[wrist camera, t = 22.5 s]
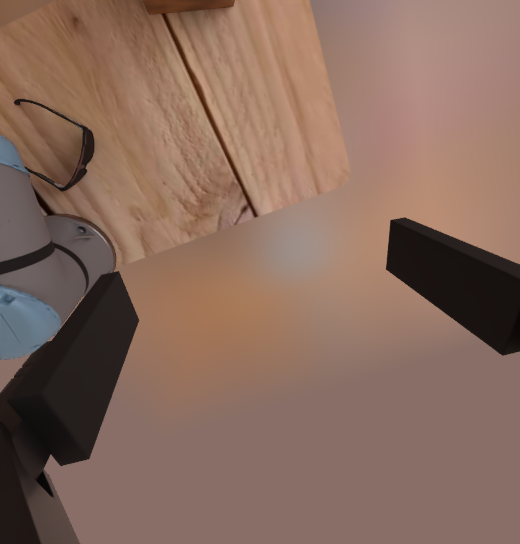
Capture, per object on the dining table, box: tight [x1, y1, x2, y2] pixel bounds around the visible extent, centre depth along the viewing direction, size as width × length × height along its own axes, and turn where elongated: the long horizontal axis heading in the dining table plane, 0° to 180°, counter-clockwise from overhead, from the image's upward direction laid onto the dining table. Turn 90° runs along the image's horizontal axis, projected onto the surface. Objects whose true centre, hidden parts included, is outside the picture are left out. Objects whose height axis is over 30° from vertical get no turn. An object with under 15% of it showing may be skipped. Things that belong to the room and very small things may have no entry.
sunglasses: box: [14, 99, 94, 191], centre depth 42 cm, size 10×12×5 cm
